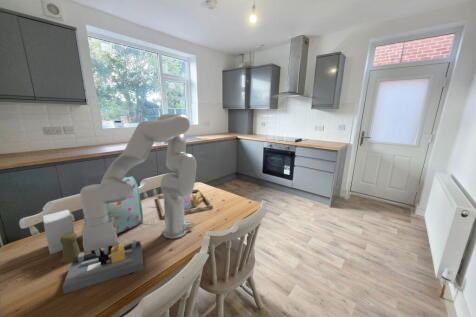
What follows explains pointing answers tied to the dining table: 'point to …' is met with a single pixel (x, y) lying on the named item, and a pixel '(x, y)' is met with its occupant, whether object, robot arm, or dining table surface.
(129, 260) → the grey slider switch base
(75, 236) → the cork
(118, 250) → the breaker toggle
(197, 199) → the spice collection
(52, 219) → the supplement box
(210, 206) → the tray
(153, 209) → the dining table surface
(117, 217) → the lunch bag
